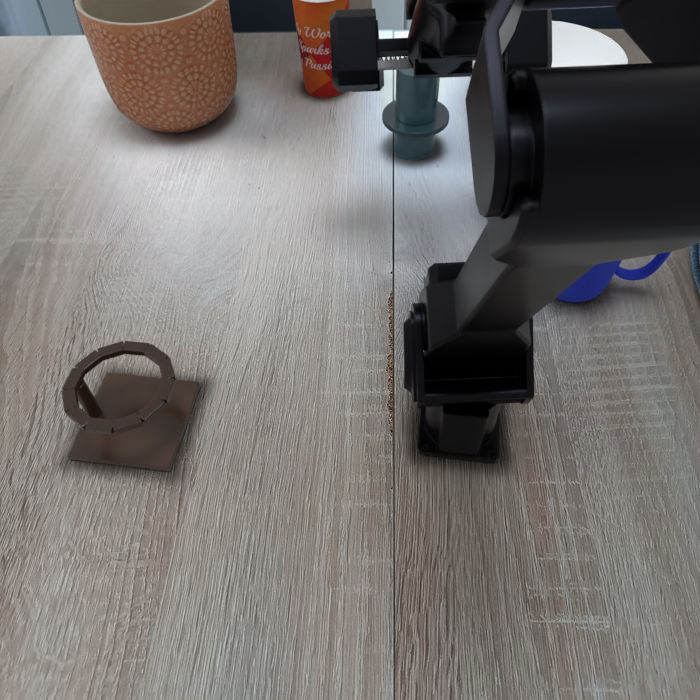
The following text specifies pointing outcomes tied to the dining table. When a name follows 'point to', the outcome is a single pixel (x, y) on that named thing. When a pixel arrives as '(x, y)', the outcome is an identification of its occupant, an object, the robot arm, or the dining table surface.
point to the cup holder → (129, 411)
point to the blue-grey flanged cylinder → (415, 115)
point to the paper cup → (316, 43)
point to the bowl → (583, 47)
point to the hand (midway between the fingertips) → (427, 77)
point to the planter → (163, 58)
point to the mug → (607, 278)
